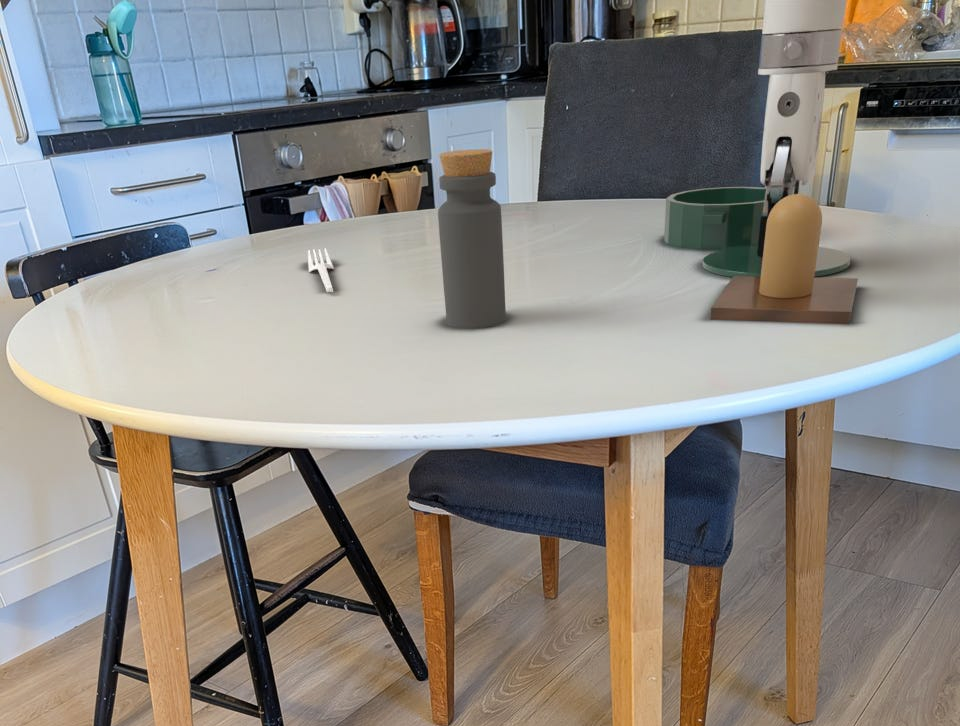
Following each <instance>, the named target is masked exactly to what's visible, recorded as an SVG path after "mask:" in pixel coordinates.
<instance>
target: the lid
mask: <svg viewBox="0 0 960 726" xmlns="http://www.w3.org/2000/svg"><path fill="white" fill-rule="evenodd" d="M757 250H758V245H755V246H744V247H737V248H730V249H725V250H716V251H714V252H711V253H709V254H707V255H706V256H704V257H703V259H702V267H703V269H704V270H706V271H707V272H710V273H712V274H714V275H718V276H724V277H729V278H732V277H733V276H756V277H761V270H762V261H763V257H758V255H757ZM850 263H851V257H850V255H848V253H846V252H843V251H842V250H838V249H833V248H829V247H825V246H819V247H818V254H817V261H816V268H815V275H814V278H819V277H824V276H827V275H828V276H829V275H832V274H833V275H834V274H836V273H839V272H842V271H844V270H846V269H847V268H849V266H850Z"/></svg>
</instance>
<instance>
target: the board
mask: <svg viewBox="0 0 960 726" xmlns="http://www.w3.org/2000/svg"><path fill="white" fill-rule="evenodd" d="M760 279H761V277H756V276H733V277H731V279H730V280H729V282H728V283H727V284H726V285H725V287H724V289H722V291H721V293H720V295H719V296H718V297H717V299H716V300H715V302H714V303H713V304H712V306H711V307H710V318H709V319H710V320H713V321H715V320H716V321H717V320H718V321H740V322H741V321H745V322H746V321H747V322H772V323H773V322H774V323H777V322H778V323H804V324H829V325H833V324H834V325H850V322H851V317H852V312H853V306H854V302H855V298H856V293H857V288H858V283H859V282H858V281H859V278H857V277H852V278H851V277H814V282H813V289H812V293H811V294H810V295H807V296H804V297H798V298H773V297H767V296H764V295H761V294H760V293H759V288H760Z"/></svg>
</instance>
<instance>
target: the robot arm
mask: <svg viewBox="0 0 960 726" xmlns="http://www.w3.org/2000/svg"><path fill="white" fill-rule="evenodd" d="M846 7H847V0H764V9H763V20H762V21H763V22H762V31H761V32H762V33H761V39H760V51H759V59H758V70H757V75H759V76H769V79H768V85H767V86H768V87H767V97H766V103H765V104H766V105H765V113H764V123H763V133H762V145H761V157H760V158H761V160H760V172H759V173H760V174H759V176H760V177H759V180H760V184H762V185H763V186H764V187H765V188H766V194H765V201H764V207H763V216H761V221H760V231H759V240H758V250H757V255H758V257H763V252H764V242H765V233H766V224H767V219H768V216H769V214H770V212H771V210H772V208H773V207H774V206H775V205H776V204H777V203H778V202H779V201H780V200H781V199H783V198H785V197H787V196H789V195H793V194H800V191H801V186H803V187H804V186H806V185H808V184H809V183H810V182H811V181H812V179H813V178H814V176H815V175H816V169H817V161H818V150H819V144H820V143H819V142H820V133H821V127H822V117H823V109H824V101H825V100H824V99H825V91H826V89H825V88H826V72H831V71H837V70H838V66H839V64H838V63H839V58H840V53H841V51H840V50H841V43H842V37H843V28H844V21H845V15H846Z"/></svg>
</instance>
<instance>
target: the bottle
mask: <svg viewBox="0 0 960 726" xmlns="http://www.w3.org/2000/svg"><path fill="white" fill-rule="evenodd" d="M492 157H493V150H491V149H486V148H484V149H483V148H482V149H479V148H477V149H462V150H461V149H460V150H459V149H458V150H452V151H445V152H442V153H440V154H439V159H440V163H441V167H442V171H443V175H441V176H440V177H439V178H438V182H439V188H440V190H442V191H445V192H446V193H445V194H446V201H445V202H444V203H442V204H441V205H440V206H439V208H438V209H437V218H438V233H439V246H440V258H441V271H442V282H443V283H442V284H443V296H444V305H445V306H444V307H445V317H446V318H445V319H446V325H447V326H449V327H451V328H454V329H461V330H462V329H463V330H477V329H486V328H491V327H495V326H498V325H500V324H503V323H504V322H506V320H507V317H506V316H507V314H506V313H507V312H506V311H507V310H506V290H505V289H506V286H505V262H504V240H503V222H502V221H503V219H502V207H501V204H500V203H499V202H498V201H497V200H496V199H493V198H492V197H491V188H493V187H494V186H496V184H497V178H496V173H495V172H493V171H491V167H492V166H491V165H492V159H493V158H492Z"/></svg>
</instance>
